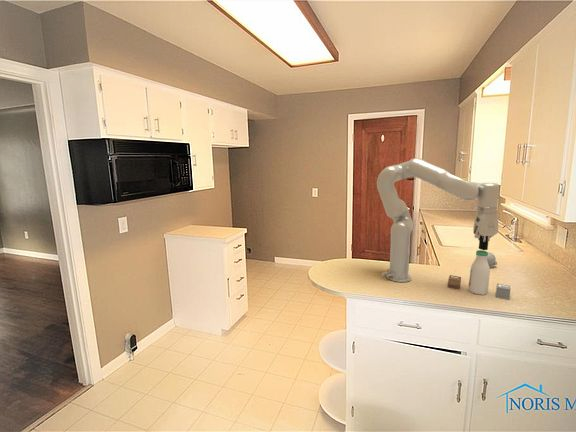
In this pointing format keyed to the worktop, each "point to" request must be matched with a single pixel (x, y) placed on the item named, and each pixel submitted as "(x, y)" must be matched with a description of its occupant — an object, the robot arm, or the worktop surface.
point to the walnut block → (454, 282)
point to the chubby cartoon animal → (491, 260)
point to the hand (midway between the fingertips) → (483, 249)
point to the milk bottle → (479, 274)
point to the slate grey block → (503, 291)
